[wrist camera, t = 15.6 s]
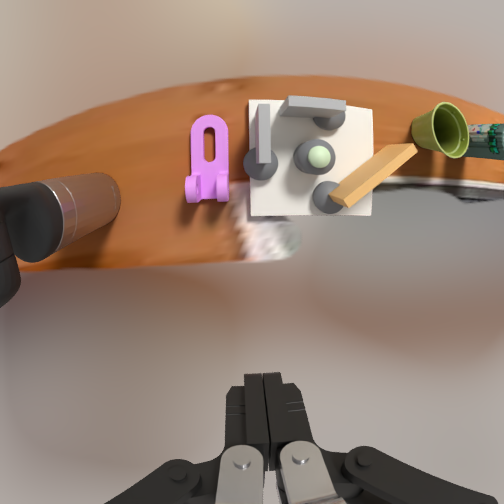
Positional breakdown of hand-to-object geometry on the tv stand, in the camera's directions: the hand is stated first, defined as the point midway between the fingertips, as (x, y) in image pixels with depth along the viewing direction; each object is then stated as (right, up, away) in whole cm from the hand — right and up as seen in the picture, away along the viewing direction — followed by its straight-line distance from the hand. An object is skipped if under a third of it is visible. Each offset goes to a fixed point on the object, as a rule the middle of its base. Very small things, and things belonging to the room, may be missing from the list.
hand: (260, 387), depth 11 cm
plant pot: (+31, +28, +30) cm, 51 cm away
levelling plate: (+9, +20, +31) cm, 38 cm away
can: (+41, +28, +30) cm, 58 cm away
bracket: (-7, +20, +30) cm, 37 cm away
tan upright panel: (+16, +18, +30) cm, 38 cm away
